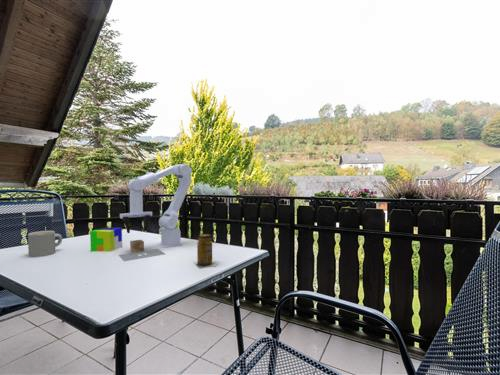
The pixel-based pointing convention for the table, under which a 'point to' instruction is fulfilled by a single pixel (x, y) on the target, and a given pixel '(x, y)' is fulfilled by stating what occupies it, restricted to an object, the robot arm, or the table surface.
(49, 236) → the coffee mug
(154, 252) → the gray tile
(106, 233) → the puzzle toy
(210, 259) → the condiment
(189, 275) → the table surface
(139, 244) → the walnut block
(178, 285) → the table surface
